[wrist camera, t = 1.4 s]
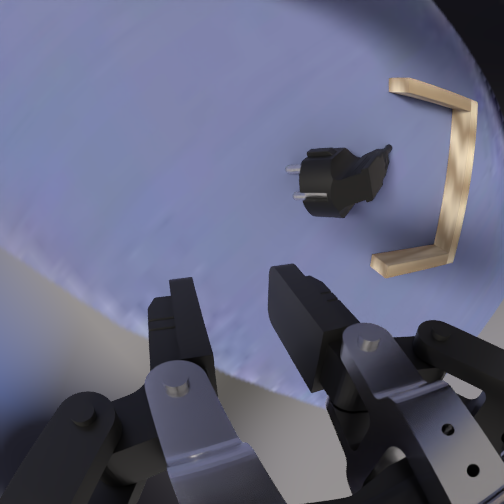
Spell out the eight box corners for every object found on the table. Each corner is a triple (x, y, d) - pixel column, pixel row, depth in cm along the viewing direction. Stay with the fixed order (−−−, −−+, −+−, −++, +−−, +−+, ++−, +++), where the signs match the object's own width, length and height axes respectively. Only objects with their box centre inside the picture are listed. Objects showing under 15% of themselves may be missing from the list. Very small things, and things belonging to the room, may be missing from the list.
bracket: (389, 78, 26) (409, 77, 23) (459, 99, 29) (477, 102, 26) (370, 266, 35) (385, 278, 32) (437, 253, 38) (452, 262, 35)
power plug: (400, 173, 30) (365, 233, 22) (336, 173, 35) (281, 226, 27) (391, 120, 27) (353, 160, 20) (324, 125, 32) (262, 165, 25)
